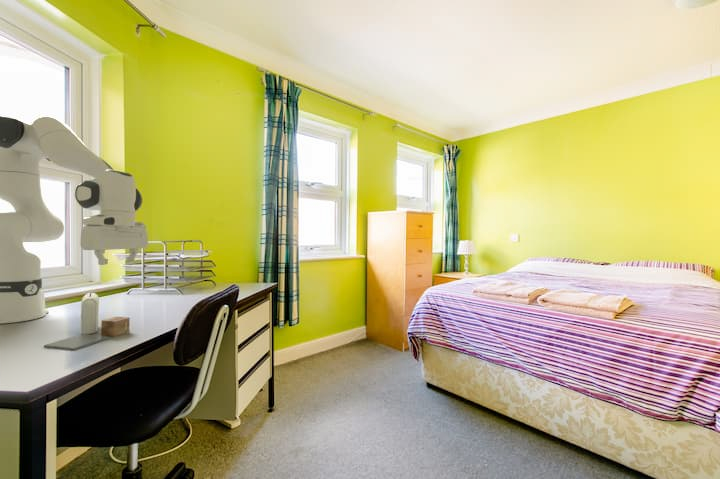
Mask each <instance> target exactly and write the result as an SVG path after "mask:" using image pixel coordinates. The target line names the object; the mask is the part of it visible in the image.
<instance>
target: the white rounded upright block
mask: <svg viewBox="0 0 720 479" xmlns="http://www.w3.org/2000/svg"><path fill="white" fill-rule="evenodd" d="M99 304H100V298H99V295H98V294H96V293H95V292H90V293H89V292H88V293H86V294H84V296H83V297H82V298H81V303H80V308H81V309H80V334H86V335H94V333H97V332H98V329H99V312H100V311H99V308H100V307H99Z"/></svg>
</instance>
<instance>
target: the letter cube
mask: <svg viewBox="0 0 720 479" xmlns="http://www.w3.org/2000/svg"><path fill="white" fill-rule="evenodd" d="M100 333H101V334H100V336H108V337H109V338H117V337H120V336H123V335H126V334H129V333H130V317H128V316H127V317H126V316H113V317H109V318H105V319H102V320H101V326H100Z"/></svg>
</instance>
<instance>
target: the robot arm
mask: <svg viewBox="0 0 720 479" xmlns="http://www.w3.org/2000/svg"><path fill="white" fill-rule="evenodd" d="M43 158H44V159H46V160H47V161H48V162H51V163H54V165H57V166H59V167H61V168H64V169H68V170H71V171H75V172H77V173H81V174H85V175H87V176H90V177H92V178H93V179H90V180H84V181H81V182H80V183H79V184H78V185H77V186H76V187H75V192H74V196H75V201H76V202H77V203H78V205H79V206H80V207H81V208H83V209H86V210H90V211H100V214H99V213H98V214H95V215H90V216H86V217H83V218H82V224H83V225H84V226H83V227H82V229H81V231H80V232H81V233H80V242H79V243H80V248H82V249H83V250H84V251H94V255H95V257H96V258H97V259H98V260H97V261H98V262H97V264H98V265H99V266H103V265H105V266H106V265H108V264H109V263H108V261H109V259H108V258H105V252H106V250H107V251H108V250H109V251H110V250H112V251H113V250H129V255H128V256H126V260H125V261H126V262H127V263H135V260H136V259H135V258H136V256H137V254H138V253H139V249H141V250H142V249H147V248H148V246H149V237H148V232H147V226H146V224H145V223H143V222H141V221H136V212H137V211H138V210H139V209H140V208H141V207H142V204H143V198H142V194H141V192H140V191H139V189H138V188H137V187H136V182H135V181H136V180H135V178H134V176H133V175H132V174H131V173H129V172H123V171H119V170H115V168H113V167H112V166H111V165H110V164H108V163H107V161H105V160H104V159H102V158H101V157H100V156H98V154H96V153H95V152H93V151H92V150H91V149H90V148H89V147H88V146H86V144H84V142H83V141H82V140H81V139H80V138H79V137H78V136H77V135H76V133H75V132H74V131H73V130H72V129H71V128H70V127H69V126H68V125H67V124H66V123H64V122H63V121H62V120H61V119H58V118H57V117H53V116H48V115H45V116H40V117H39V116H38V117H37V118H34V119H33V120H32V121H27V120H22V119H18V118H15V117H13V116H8V115H7V116H6V115H0V199H1V200H3V201H5V202H7V203H9V204H10V205H11V206H12V207H13V209H14V211H5V210H4V211H3V210H2V211H1V210H0V325H1V324H10V323H18V322H24V321H25V322H26V321H31V320H35V319H40V318H42V317H45V316H46V315H47V314H49V309H46V299H45V293H44V292H43V291H42V290H41V289H42V288H43V280H42V278H41V259H40V257H39V256H37V255H36V254H34V253H32V252H29V251H27V250H26V248H25V247H24V244H23V243H45V242H50V241H55V240H58V239H59V238H60V237H61V236H62V235H63V234H64V232H65V226H64V223H63V221H62V220H61V218H60V217H57V216H56V215H54V214H53V213H52V212H51V211H50V209H49V208H48V207H47V205H46V203H45V202H44V200H43V199H44V198H43V197H42V191H41V190H42V189H41V174H40V173H41V172H40V162H41V160H42V159H43Z"/></svg>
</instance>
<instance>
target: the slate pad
mask: <svg viewBox="0 0 720 479" xmlns="http://www.w3.org/2000/svg"><path fill="white" fill-rule="evenodd" d="M109 338H110V337H108V336H101V335H94V334H81V333H80V334H77V335H74V336H70V337H66V338H64V339H60V340H57V341H54V342H51V343H47V344H44V345H43V348H45V349H46V348H48V349H56V350H57V349H58V350H68V351H76V350H79V349H83V348H85V347H87V346H91V345H94V344H97V343H99V342H102V341H105V340H109Z"/></svg>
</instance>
